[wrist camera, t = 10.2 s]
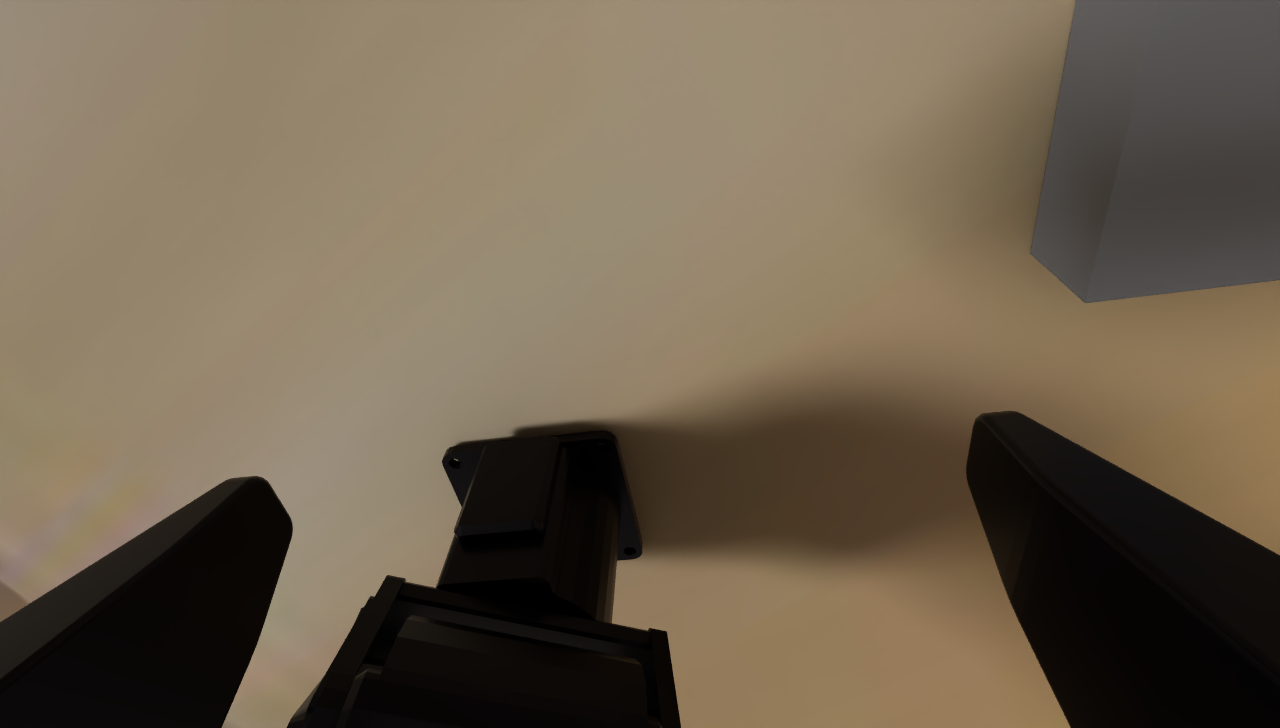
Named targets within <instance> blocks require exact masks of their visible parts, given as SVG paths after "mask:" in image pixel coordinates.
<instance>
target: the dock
mask: <svg viewBox="0 0 1280 728" xmlns="http://www.w3.org/2000/svg"><path fill="white" fill-rule="evenodd" d="M1030 254H1031V255H1032V256H1034V257H1035V258H1036V259H1037V260H1038V261H1039V262H1040V263H1041V264H1042V265H1043V266H1045V267H1046V268H1047V269H1048V270H1049V271H1050V272H1051V273H1052V274H1053V275H1054V276H1056V277H1057V278H1058V279H1059V280H1060V281H1061V282H1062V283H1063V284H1064V285H1066V286H1067V287H1068V288H1069V289H1070V290H1071V291H1072V292H1073V293H1074V294H1075V295H1077V296H1078V297H1079V298H1080V299H1081V300H1082V301H1083V302H1084V303H1091V302H1099V301H1107V300H1116V299H1124V298H1132V297H1141V296H1149V295H1158V294H1166V293H1174V292H1183V291H1191V290H1200V289H1208V288H1216V287H1225V286H1233V285H1241V284H1250V283H1258V282H1267V281H1275V280H1280V0H1076V4H1075V9H1074V15H1073V20H1072V26H1071V31H1070V37H1069V42H1068V48H1067V53H1066V59H1065V64H1064V70H1063V75H1062V81H1061V86H1060V92H1059V98H1058V103H1057V109H1056V114H1055V120H1054V125H1053V131H1052V136H1051V142H1050V147H1049V153H1048V158H1047V164H1046V169H1045V175H1044V180H1043V186H1042V191H1041V197H1040V203H1039V208H1038V214H1037V219H1036V225H1035V230H1034V236H1033V241H1032V247H1031V252H1030Z"/></svg>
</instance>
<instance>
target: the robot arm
mask: <svg viewBox="0 0 1280 728" xmlns="http://www.w3.org/2000/svg"><path fill="white" fill-rule="evenodd" d="M601 443H603V444H607V445H608V446H606V447H602V446H600V445H598V444H601ZM454 459H458V460H460V461H461V462H460V461H456V460H454ZM442 464H443V467H444V469H445V471H446V473H447V475H448V478H449V480H450V482H451V484H452V486H453V489H454V491H455V493H456V495H457V497H458V500H459V502H460V504H461V506H462V509H461V512H460V515H459V517H458V520H457V523H456V526H455V528H454V533H455V535H454V538H453V541H452V543H451V546H450V549H449V552H448V555H447V558H446V560H445V563H444V566H443V569H442V572H441V574H440V577H439V580H438V583H437V586H436V588H434V587H429V586H424V585H419V584H414V583H409V582H406V579H405V578H400V577H395V576H390V575H387V576H386V578H385V580H384V581H383V583H382V585H381V587H380V589H379V590H378V592H377V594H376V596H375V597H373V596H370V598H369V599H368V601H367V603H366V605H365V606H364V607H363V608H361V610H360V612H359V615H358V617H357V619H356V621H355V623H354V625H353V627H352V629H351V631H350V632H349V634H348V636H347V638H346V639H345V641H344V643H343V645H342V646H341V648H340V650H339V651H338V653H337V655H336V657H335V658H334V660H333V662H332V664H331V665H330V667H329V669H328V671H327V672H326V674H325V676H324V677H323V678H322V680H321V681H320V682H319V683H318V685H317V686H316V687H315V688H314V690H313V691H312V692H311V694H310V695H309V696H308V697H307V699H306V700H305V701H304V702H303V704H302V705H301V706H300V708H299V709H298V710H297V711H296V713H295V714H294V715H293V717H292V718H291V720H290V722H289V724H288V726H287V728H681V724H680V717H679V711H678V704H677V697H676V690H675V684H674V677H673V670H672V663H671V657H670V650H669V643H668V636H667V631H662V630H657V629H652V628H649V630H648V631H647V630H642V629H637V628H632V627H627V626H622V625H617V624H612V613H613V602H614V590H615V578H616V566H617V560H630V559H636V558H638V557H640V556H641V554H642V538H641V534H640V530H639V526H638V522H637V518H636V514H635V510H634V506H633V502H632V498H631V493H630V489H629V485H628V481H627V477H626V473H625V469H624V465H623V461H622V457H621V453H620V449H619V445H618V440H617V438H616V436H615V435H613V434H612V433H610V432H608V431H595V432H585V433H576V434H566V435H557V436H547V437H538V438H528V439H519V440H509V441H500V442H490V443H481V444H471V445H462V446H454V447H450V448H449V449H447V450H446V453H445V455H444V457H443V460H442ZM966 475H967V481H968V485H969V488H970V491H971V494H972V497H973V500H974V503H975V505H976V508H977V511H978V514H979V517H980V520H981V522H982V525H983V528H984V531H985V534H986V537H987V539H988V542H989V545H990V548H991V551H992V554H993V556H994V559H995V562H996V565H997V568H998V571H999V574H1000V576H1001V579H1002V582H1003V585H1004V587H1005V590H1006V593H1007V595H1008V598H1009V600H1010V603H1011V605H1012V607H1013V609H1014V612H1015V614H1016V616H1017V618H1018V620H1019V623H1020V625H1021V627H1022V629H1023V631H1024V633H1025V635H1026V637H1027V639H1028V641H1029V643H1030V645H1031V647H1032V649H1033V651H1034V653H1035V655H1036V658H1037V660H1038V662H1039V664H1040V666H1041V668H1042V670H1043V672H1044V674H1045V676H1046V678H1047V680H1048V682H1049V684H1050V686H1051V688H1052V690H1053V692H1054V694H1055V697H1056V699H1057V701H1058V703H1059V705H1060V707H1061V709H1062V711H1063V713H1064V715H1065V717H1066V719H1067V721H1068V723H1069V725H1070V727H1071V728H1280V555H1278V554H1276V553H1275V552H1273V551H1271V550H1269V549H1267V548H1265V547H1264V546H1262V545H1260V544H1258V543H1256V542H1254V541H1253V540H1251V539H1249V538H1247V537H1245V536H1244V535H1242V534H1240V533H1238V532H1236V531H1234V530H1233V529H1231V528H1229V527H1227V526H1225V525H1224V524H1222V523H1220V522H1218V521H1216V520H1214V519H1213V518H1211V517H1209V516H1207V515H1205V514H1203V513H1202V512H1200V511H1198V510H1196V509H1194V508H1193V507H1191V506H1189V505H1187V504H1185V503H1183V502H1182V501H1180V500H1178V499H1176V498H1174V497H1172V496H1171V495H1169V494H1167V493H1165V492H1163V491H1162V490H1160V489H1158V488H1156V487H1154V486H1152V485H1151V484H1149V483H1147V482H1145V481H1143V480H1142V479H1140V478H1138V477H1136V476H1134V475H1132V474H1131V473H1129V472H1127V471H1125V470H1123V469H1121V468H1120V467H1118V466H1116V465H1114V464H1112V463H1111V462H1109V461H1107V460H1105V459H1103V458H1101V457H1100V456H1098V455H1096V454H1094V453H1092V452H1090V451H1089V450H1087V449H1085V448H1083V447H1081V446H1080V445H1078V444H1076V443H1074V442H1072V441H1070V440H1069V439H1067V438H1065V437H1063V436H1061V435H1059V434H1058V433H1056V432H1054V431H1052V430H1050V429H1049V428H1047V427H1045V426H1043V425H1041V424H1039V423H1038V422H1036V421H1034V420H1032V419H1030V418H1029V417H1027V416H1025V415H1023V414H1021V413H1019V412H1016V411H1003V412H992V413H983V414H981V415H979V416H978V417H977V418H976V420H975V422H974V425H973V431H972V436H971V442H970V448H969V453H968V459H967V465H966ZM292 532H293V526H292V521H291V518H290V516H289V514H288V513H287V511H286V509H285V508H284V506H283V505H282V503H281V501H280V500H279V498H278V497H277V495H276V493H275V492H274V490H273V488H272V487H271V485H270V484H269V482H268V481H267V480H265V479H264V478H262V477H258V476H250V477H239V478H232V479H228V480H226V481H224V482H222V483H221V484H219V485H218V486H216V487H214V488H213V489H211V490H210V491H208V492H206V493H205V494H203V495H202V496H200V497H198V498H197V499H195V500H194V501H192V502H191V503H189V504H187V505H186V506H184V507H183V508H181V509H179V510H178V511H176V512H175V513H173V514H171V515H170V516H168V517H167V518H165V519H163V520H162V521H160V522H159V523H157V524H156V525H154V526H152V527H151V528H149V529H148V530H146V531H144V532H143V533H141V534H140V535H138V536H136V537H135V538H133V539H132V540H130V541H128V542H127V543H125V544H124V545H122V546H121V547H119V548H117V549H116V550H114V551H113V552H111V553H109V554H108V555H106V556H105V557H103V558H101V559H100V560H98V561H97V562H95V563H94V564H92V565H90V566H89V567H87V568H86V569H84V570H82V571H81V572H79V573H78V574H76V575H74V576H73V577H71V578H70V579H68V580H66V581H65V582H63V583H62V584H60V585H59V586H57V587H55V588H54V589H52V590H51V591H49V592H47V593H46V594H44V595H43V596H41V597H39V598H38V599H36V600H35V601H33V602H32V603H30V604H28V605H27V606H25V607H24V608H22V609H20V610H19V611H17V612H16V613H14V614H12V615H11V616H9V617H8V618H6V619H4V620H3V621H1V622H0V728H222V725H223V723H224V721H225V718H226V716H227V714H228V711H229V709H230V707H231V704H232V702H233V700H234V697H235V695H236V693H237V690H238V688H239V686H240V684H241V681H242V679H243V677H244V674H245V672H246V670H247V667H248V665H249V663H250V660H251V658H252V655H253V653H254V650H255V648H256V645H257V642H258V640H259V637H260V634H261V631H262V628H263V625H264V622H265V619H266V616H267V613H268V610H269V607H270V603H271V600H272V597H273V594H274V591H275V588H276V585H277V582H278V579H279V575H280V572H281V569H282V566H283V563H284V560H285V557H286V554H287V551H288V548H289V544H290V541H291V538H292ZM631 547H632V548H631Z"/></svg>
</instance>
